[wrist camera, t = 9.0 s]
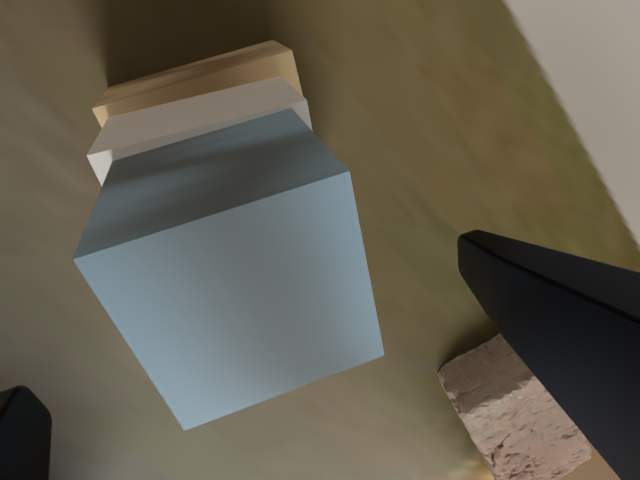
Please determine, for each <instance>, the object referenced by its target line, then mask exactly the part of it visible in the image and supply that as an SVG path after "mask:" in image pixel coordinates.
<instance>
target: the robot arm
mask: <svg viewBox="0 0 640 480" xmlns="http://www.w3.org/2000/svg"><path fill="white" fill-rule="evenodd" d="M457 244H458V267H459V271H460V273H461V276H462V277H463V279H464V280H465V282H466V283H467V285H468V286H469V288H470V290H471V291H472V293H473V294H474V296H475V297H476V299H477V300H478V302H479V303H480V305H481V306H482V308H483V309H484V311H485V312H486V314H487V315H488V317H489V319H490V320H491V322H492V323H493V324H494V326H495V327H496V329H497V330H498V332H499V333H500V334H501V335H502V337H503V338H504V339H505V340H506V342H507V343H508V344H509V345H510V346H511V348H512V349H513V350H514V351H515V352H516V354H517V355H518V356H519V357H520V359H521V360H522V361H523V362H524V363H525V365H526V366H527V367H528V368H529V369H530V371H531V372H532V373H533V374H534V375H535V377H536V378H537V379H538V380H539V381H540V383H541V384H542V385H543V386H544V387H545V389H546V390H547V391H548V392H549V393H550V395H551V396H552V397H553V398H554V399H555V401H556V402H557V403H558V404H559V406H560V407H561V408H562V409H563V410H564V412H565V413H566V414H567V415H568V416H569V418H570V419H571V420H572V421H573V422H574V424H575V425H576V426H577V427H578V428H579V430H580V431H581V432H582V433H583V434H584V436H585V437H586V438H587V439H588V440H589V442H590V443H591V444H592V445H593V447H594V448H595V449H596V450H597V451H598V453H599V454H600V455H601V456H602V457H603V459H604V460H605V461H606V462H607V463H608V465H609V466H610V467H611V468H612V469H613V471H614V472H615V473H616V474H617V475H618V477H619V478H620V479H621V480H640V272H636V271H633V270H629V269H625V268H621V267H617V266H614V265H610V264H606V263H602V262H598V261H595V260H591V259H587V258H583V257H580V256H576V255H572V254H568V253H564V252H561V251H557V250H553V249H549V248H546V247H542V246H538V245H534V244H530V243H527V242H523V241H519V240H515V239H511V238H508V237H504V236H500V235H496V234H493V233H489V232H485V231H481V230H473V231H470V232H467V233H464V234H461V235H460V236H459V237H458V242H457ZM51 429H52V419H51V415H50V412H49V410H48V409H47V408H46V407H45V406H44V404H43V403H42V402H41V401H40V400H39V399H38V398H37V397H36V395H35V394H34V393H33V392H32V391H31V390H30V389H29V388H28V387H26V386H24V385H19V386H16V387H13V388H10V389H7V390H4V391H2V392H0V480H49V467H50V448H51Z"/></svg>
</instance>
